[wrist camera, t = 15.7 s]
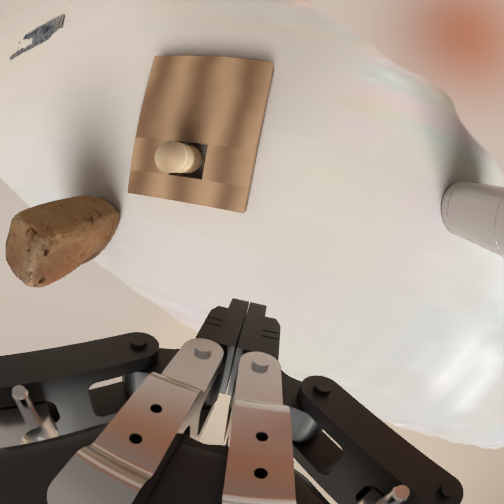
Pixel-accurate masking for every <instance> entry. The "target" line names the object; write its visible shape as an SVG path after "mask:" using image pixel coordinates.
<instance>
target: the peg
mask: <svg viewBox="0 0 504 504" xmlns="http://www.w3.org/2000/svg"><path fill="white" fill-rule="evenodd" d="M204 161H205V158H204V155H203V154H202V153H201V152H200V151H199V150H198V149H197V148H196V147H194V146H190V145H186V144H183V143H179V142H176V141H166V142H164V143H162V144H161V145H160V146H159V147H158V148H157V150H156V153H155V163H156V165H157V167H158V168H159V169H160V170H161V171H163V172H166V173H192V172H194V171H196V170H198V169H200V168H201V167H202V166H203V164H204Z"/></svg>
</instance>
